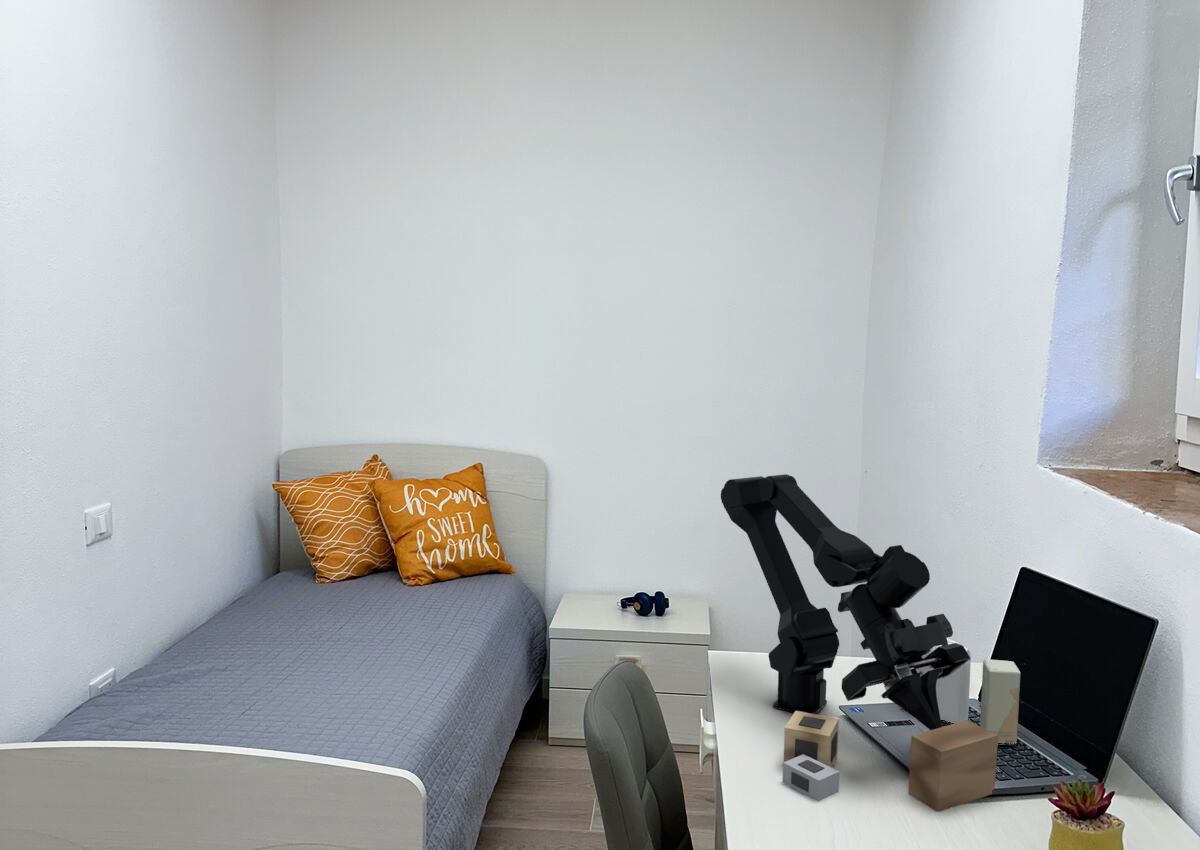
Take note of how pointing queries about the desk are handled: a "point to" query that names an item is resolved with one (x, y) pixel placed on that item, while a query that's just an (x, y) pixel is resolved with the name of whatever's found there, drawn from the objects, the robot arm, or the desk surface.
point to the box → (1000, 699)
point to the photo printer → (953, 691)
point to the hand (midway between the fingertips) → (938, 730)
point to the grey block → (810, 777)
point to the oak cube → (812, 737)
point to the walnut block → (952, 765)
